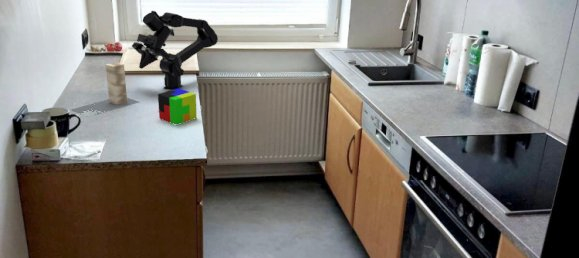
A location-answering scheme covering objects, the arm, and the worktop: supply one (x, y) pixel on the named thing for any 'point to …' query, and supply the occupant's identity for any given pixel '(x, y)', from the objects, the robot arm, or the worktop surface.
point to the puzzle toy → (177, 106)
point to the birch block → (116, 83)
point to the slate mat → (103, 106)
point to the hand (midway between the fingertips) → (140, 68)
